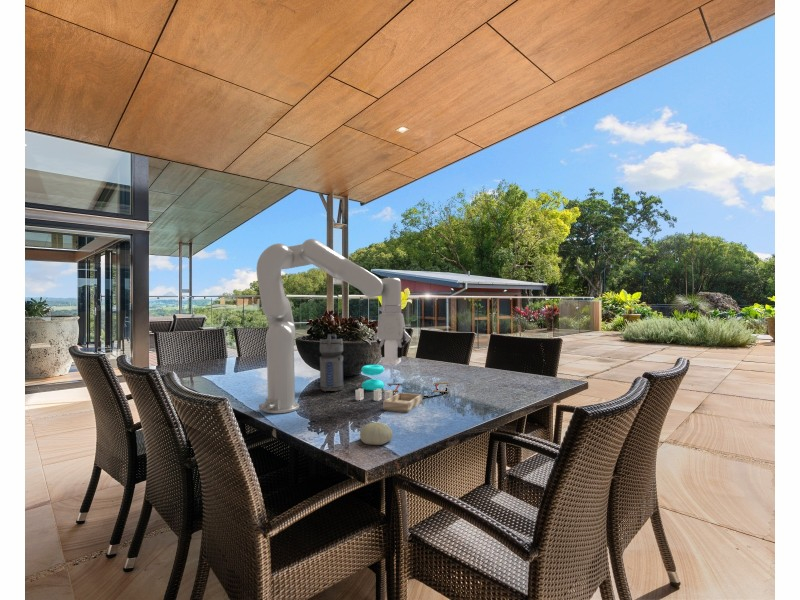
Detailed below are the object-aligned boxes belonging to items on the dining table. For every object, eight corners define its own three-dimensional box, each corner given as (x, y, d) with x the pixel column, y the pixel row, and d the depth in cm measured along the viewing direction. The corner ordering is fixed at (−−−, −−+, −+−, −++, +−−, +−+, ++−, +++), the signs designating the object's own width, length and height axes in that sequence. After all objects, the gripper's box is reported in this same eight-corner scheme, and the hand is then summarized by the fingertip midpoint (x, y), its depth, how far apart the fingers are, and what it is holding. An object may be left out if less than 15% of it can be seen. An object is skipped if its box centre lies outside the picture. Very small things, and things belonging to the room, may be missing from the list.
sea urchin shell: (382, 426, 120) (390, 411, 115) (390, 451, 116) (399, 437, 111) (353, 431, 116) (360, 416, 111) (361, 457, 111) (369, 443, 106)
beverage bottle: (346, 386, 185) (345, 331, 185) (341, 392, 172) (340, 334, 172) (324, 386, 185) (323, 331, 185) (317, 393, 172) (316, 334, 172)
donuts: (360, 364, 184) (382, 363, 185) (361, 386, 184) (383, 385, 185) (361, 368, 174) (384, 367, 175) (362, 391, 174) (385, 390, 176)
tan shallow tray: (407, 412, 141) (407, 403, 141) (383, 409, 145) (382, 401, 145) (422, 402, 154) (422, 394, 154) (399, 400, 158) (399, 392, 158)
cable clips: (387, 403, 154) (387, 392, 154) (355, 400, 159) (355, 389, 159) (393, 400, 158) (393, 390, 158) (361, 397, 164) (361, 387, 164)
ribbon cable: (450, 401, 156) (449, 384, 186) (450, 399, 156) (449, 382, 186) (376, 401, 159) (386, 384, 189) (376, 399, 159) (386, 382, 189)
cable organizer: (401, 361, 159) (401, 335, 159) (396, 365, 150) (396, 338, 149) (388, 360, 160) (387, 335, 160) (382, 365, 150) (382, 338, 150)
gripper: (366, 310, 155) (367, 357, 155) (409, 310, 148) (409, 359, 148) (375, 309, 161) (375, 354, 162) (416, 309, 155) (416, 356, 155)
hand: (392, 356), depth 155 cm, fingers closed on cable organizer, 5 cm apart
